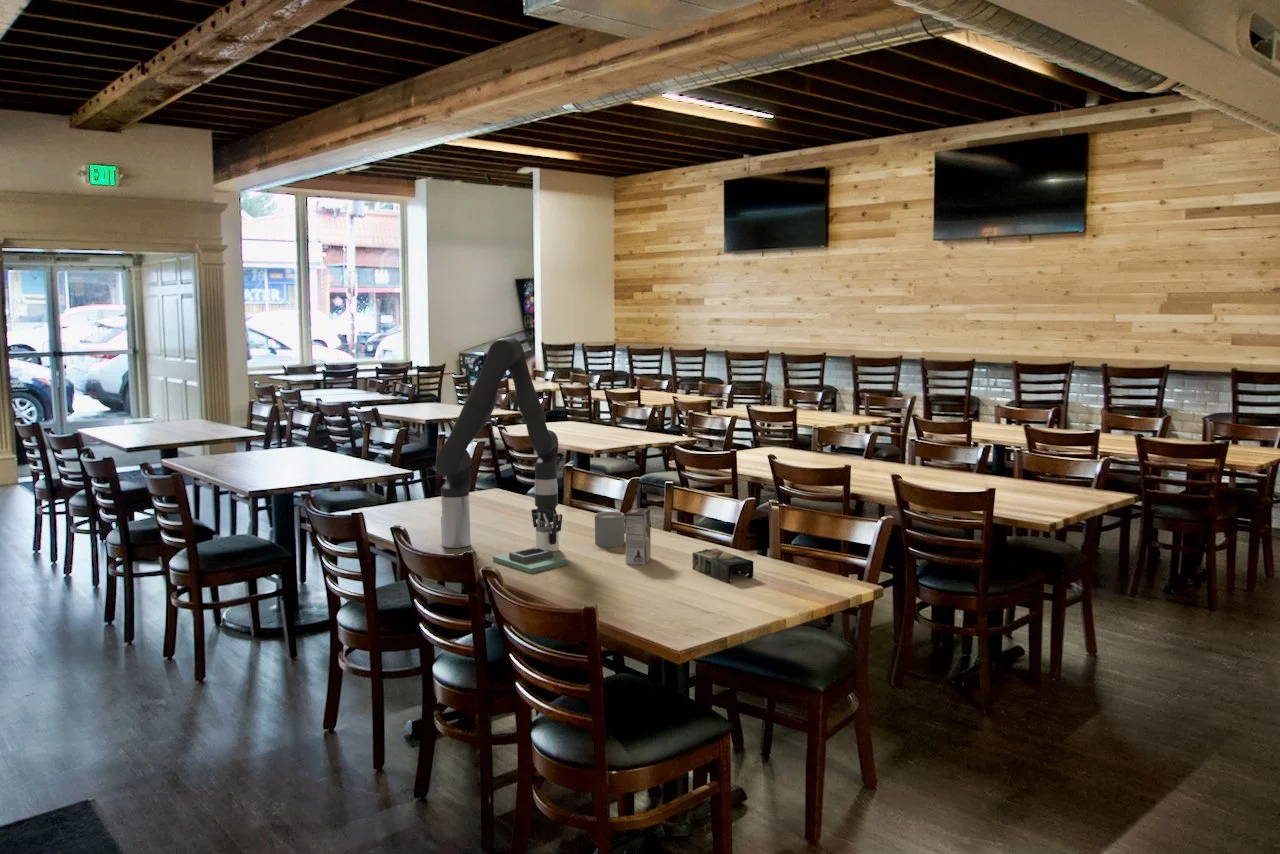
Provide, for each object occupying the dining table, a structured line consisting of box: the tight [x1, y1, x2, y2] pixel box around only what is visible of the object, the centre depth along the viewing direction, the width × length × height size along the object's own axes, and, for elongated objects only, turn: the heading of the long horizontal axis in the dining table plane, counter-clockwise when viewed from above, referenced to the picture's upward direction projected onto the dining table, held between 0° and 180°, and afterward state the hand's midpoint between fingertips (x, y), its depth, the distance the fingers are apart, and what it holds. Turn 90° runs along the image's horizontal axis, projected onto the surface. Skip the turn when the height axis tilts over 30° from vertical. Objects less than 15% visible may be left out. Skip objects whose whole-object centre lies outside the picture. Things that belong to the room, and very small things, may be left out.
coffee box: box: [624, 507, 652, 566], centre depth 306 cm, size 9×6×16 cm
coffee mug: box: [594, 511, 626, 548], centre depth 330 cm, size 13×10×10 cm
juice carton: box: [691, 548, 754, 584], centre depth 292 cm, size 20×10×6 cm, turn 31°
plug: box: [535, 525, 560, 552], centre depth 320 cm, size 4×7×8 cm, turn 133°
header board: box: [492, 546, 568, 574], centre depth 305 cm, size 20×14×4 cm
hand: (547, 542), depth 320 cm, fingers open, 5 cm apart
